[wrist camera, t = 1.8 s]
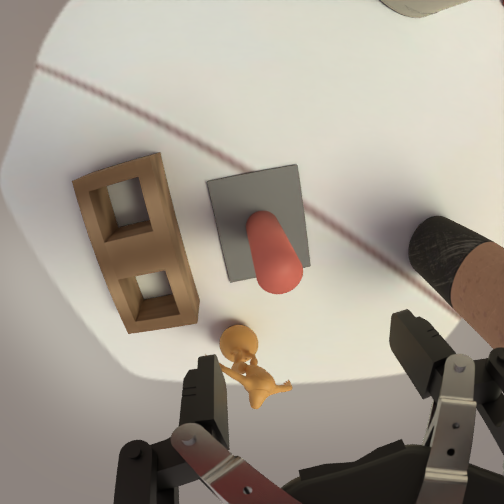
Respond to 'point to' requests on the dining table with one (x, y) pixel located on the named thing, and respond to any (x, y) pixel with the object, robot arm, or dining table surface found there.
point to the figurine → (241, 350)
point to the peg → (272, 254)
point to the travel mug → (463, 273)
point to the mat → (250, 201)
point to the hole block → (139, 246)
